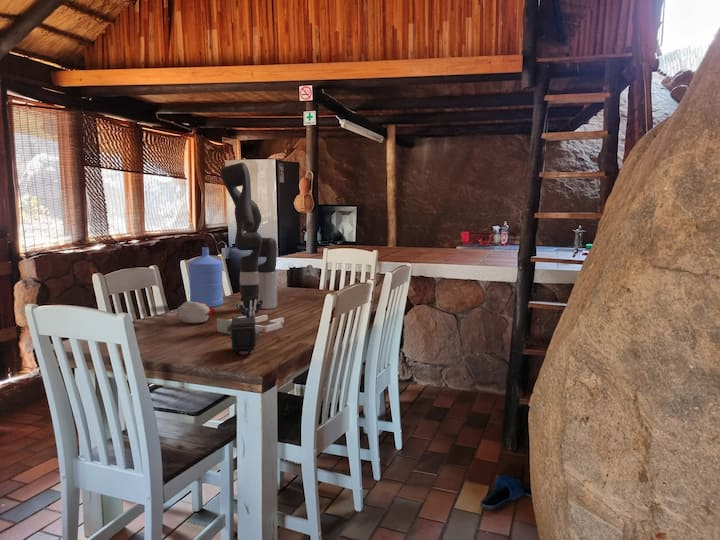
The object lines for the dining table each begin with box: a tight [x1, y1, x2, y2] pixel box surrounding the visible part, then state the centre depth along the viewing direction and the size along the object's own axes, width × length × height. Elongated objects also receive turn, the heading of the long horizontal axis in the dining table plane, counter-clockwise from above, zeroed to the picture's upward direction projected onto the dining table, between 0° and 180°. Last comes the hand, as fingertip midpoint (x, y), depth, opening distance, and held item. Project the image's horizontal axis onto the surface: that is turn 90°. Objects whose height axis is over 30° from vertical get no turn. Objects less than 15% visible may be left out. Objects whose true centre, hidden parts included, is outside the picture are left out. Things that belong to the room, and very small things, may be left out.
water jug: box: [188, 246, 224, 308], centre depth 263 cm, size 16×16×28 cm
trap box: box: [216, 314, 285, 335], centre depth 218 cm, size 27×22×5 cm
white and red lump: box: [175, 300, 216, 324], centre depth 226 cm, size 9×11×15 cm
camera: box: [227, 316, 261, 355], centre depth 181 cm, size 11×11×15 cm
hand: (250, 325), depth 218 cm, fingers closed
